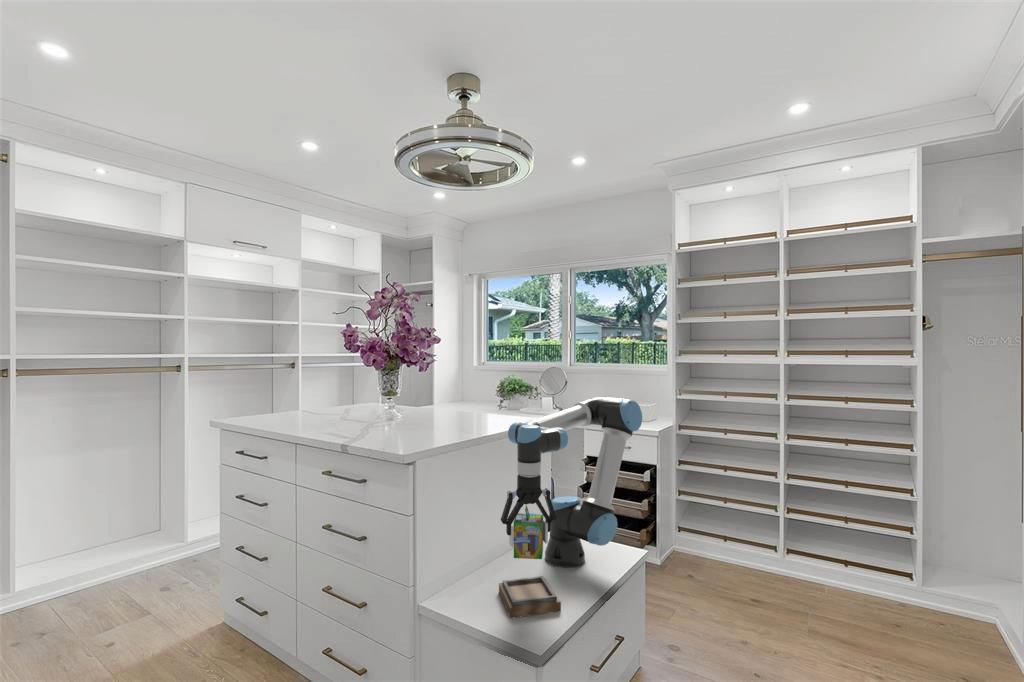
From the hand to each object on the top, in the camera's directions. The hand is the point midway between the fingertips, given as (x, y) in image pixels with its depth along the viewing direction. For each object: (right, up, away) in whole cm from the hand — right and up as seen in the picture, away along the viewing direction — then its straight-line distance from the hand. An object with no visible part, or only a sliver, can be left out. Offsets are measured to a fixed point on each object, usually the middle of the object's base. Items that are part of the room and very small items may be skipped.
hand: (528, 543), depth 160 cm
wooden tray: (0, -19, 0) cm, 19 cm away
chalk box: (0, -4, +1) cm, 4 cm away
